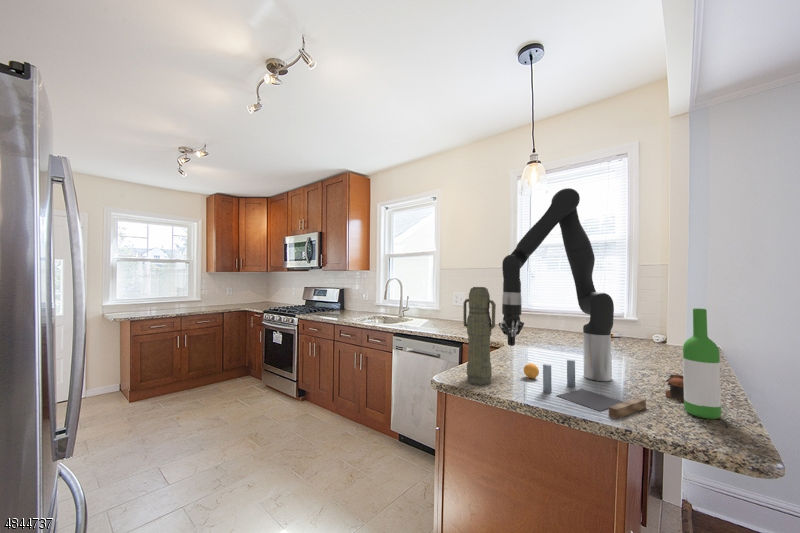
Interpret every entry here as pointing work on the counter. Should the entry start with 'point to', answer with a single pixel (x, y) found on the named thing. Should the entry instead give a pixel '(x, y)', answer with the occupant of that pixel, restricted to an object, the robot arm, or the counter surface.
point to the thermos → (479, 335)
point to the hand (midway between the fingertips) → (511, 345)
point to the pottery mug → (675, 387)
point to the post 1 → (547, 378)
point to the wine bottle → (701, 371)
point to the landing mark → (590, 399)
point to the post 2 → (571, 373)
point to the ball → (531, 370)
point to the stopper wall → (627, 407)
